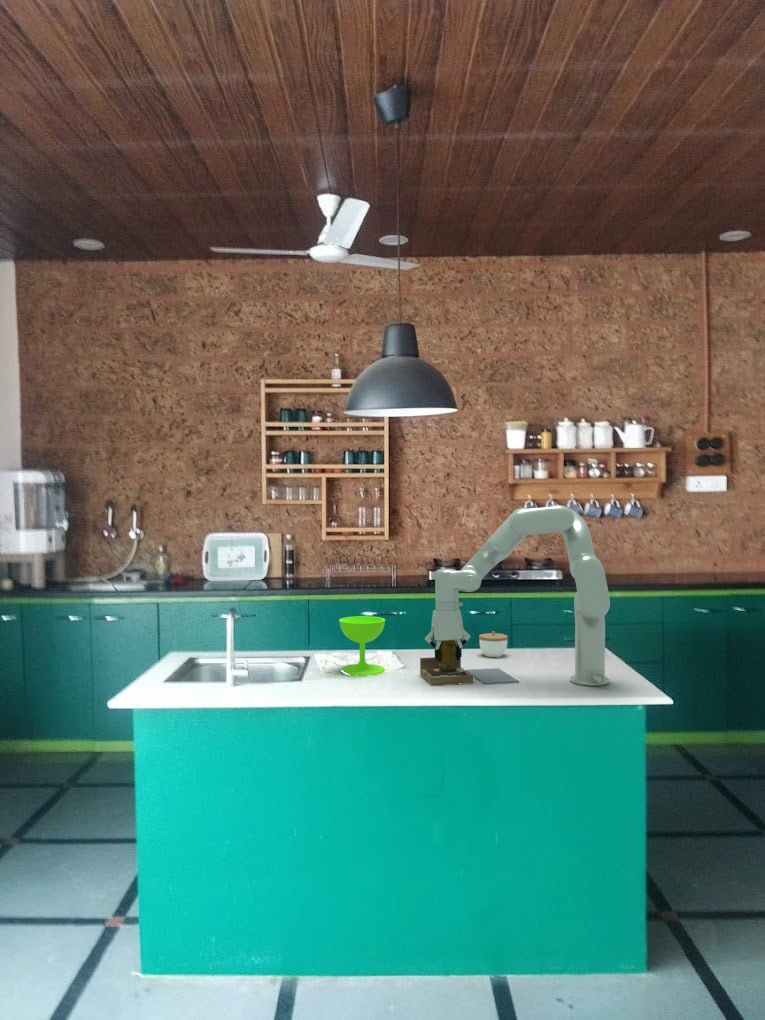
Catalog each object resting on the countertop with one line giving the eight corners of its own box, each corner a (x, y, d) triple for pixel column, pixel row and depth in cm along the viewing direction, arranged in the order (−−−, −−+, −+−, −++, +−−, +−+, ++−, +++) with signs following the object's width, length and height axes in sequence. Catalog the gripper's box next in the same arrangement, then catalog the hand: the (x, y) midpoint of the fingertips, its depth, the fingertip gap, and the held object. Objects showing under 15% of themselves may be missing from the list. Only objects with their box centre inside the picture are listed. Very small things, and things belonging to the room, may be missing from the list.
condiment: (448, 667, 287) (447, 632, 287) (466, 671, 280) (465, 635, 280) (432, 670, 282) (431, 634, 282) (450, 674, 276) (449, 638, 275)
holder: (473, 683, 276) (473, 665, 276) (431, 685, 273) (431, 667, 273) (459, 673, 291) (459, 656, 291) (420, 675, 288) (420, 657, 288)
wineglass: (377, 677, 285) (377, 624, 285) (332, 674, 290) (332, 622, 289) (390, 667, 300) (390, 617, 300) (348, 665, 305) (348, 615, 305)
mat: (518, 682, 277) (518, 681, 277) (483, 684, 275) (483, 682, 275) (498, 669, 297) (498, 668, 297) (465, 671, 294) (465, 669, 294)
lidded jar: (500, 652, 327) (500, 628, 327) (512, 658, 317) (512, 633, 316) (474, 654, 324) (474, 629, 324) (485, 659, 314) (485, 634, 314)
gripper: (468, 603, 286) (469, 656, 287) (419, 606, 283) (420, 659, 283) (475, 606, 279) (476, 660, 279) (424, 609, 275) (425, 664, 276)
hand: (448, 659), depth 281 cm, fingers closed on condiment, 6 cm apart
